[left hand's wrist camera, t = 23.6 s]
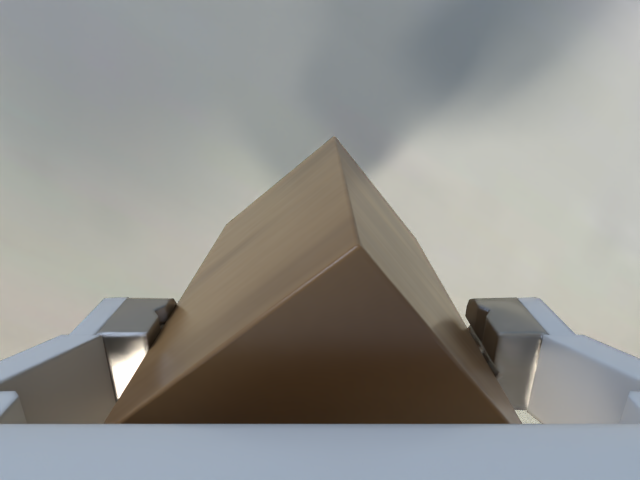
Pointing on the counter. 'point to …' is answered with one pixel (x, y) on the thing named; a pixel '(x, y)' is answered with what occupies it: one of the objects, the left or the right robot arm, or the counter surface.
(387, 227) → the brown wooden block
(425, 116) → the counter surface
